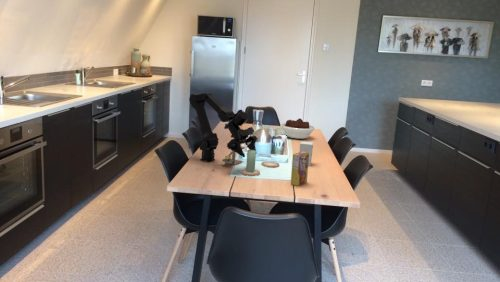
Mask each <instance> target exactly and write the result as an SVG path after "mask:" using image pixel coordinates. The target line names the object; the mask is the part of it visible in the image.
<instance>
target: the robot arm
mask: <svg viewBox="0 0 500 282" xmlns="http://www.w3.org/2000/svg"><path fill="white" fill-rule="evenodd" d="M188 101H189V103H190V105H191V107H192V108H193V109H194V110H195V111H196V112H195V113H196V115H197V118H198V121H199V124H200V127H201V130H202V138H201V140H202V142H201V144H200V145H199V146H198V147H199V148H198V149H199V150H200V151H201V158H200V159H199V160H200V161H203V162H207V163H208V162H209V163H210V162H213V161H215V160H216V158H215V156H216V155H215V150H217V147H218V145H219V138H218V134H217V133H216V132H213V130H212V128H211V125H210V122H209V119H208V115H207V112H206V109H205V106H206V103H207V104H208V105H209V106H210V107H211V108H212V109H213V111H215V112H216V113H217V117H218V119H220V121H221V122H222V123H224V129H225V130H228V131H229V133H230V134H231V135H230V138H232V139H230V140H229V142H227V143H226V147H227V149H228V150H230V151H232V150H233V151H234V152H235V154H238V155H239V156H241V157H242V158H245V157H246V155H245V152H244V151H243V150H244V149H242V148H241V146H242V145H243V144H245V145H246V148H247V149H248V150H255V151H256V155H257V154H258V153H257V149H256V142H257V140H258V137H257V136H256V135H254V132H255V130H254V128H253V127H252V126H250V127H247V128H245V129H243V128H241V126H243V125H244V124H245V123H246V122H247V121H248V120H249V114H248V113H246V112H245V111H244V110H243V109H238V110H237V112H236V113H234V111H233V110H231V109H229V108H228V107H225V106H224V105H223V104H222V103H221V102H220V101H219V100H217V98H216V97H214V96H213V94H212V93H210V92H204V93H192V94H191V95H190V96H189V100H188ZM227 122H228V123H227Z"/></svg>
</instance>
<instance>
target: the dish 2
mask: <svg viewBox="0 0 500 282" xmlns="http://www.w3.org/2000/svg"><path fill="white" fill-rule="evenodd" d="M262 165H263V167H265V166H267V168H278V167H280V163H278V162H277V161H276V162H275V161H268V160H267V161H261V166H262Z"/></svg>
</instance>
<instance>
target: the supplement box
mask: <svg viewBox="0 0 500 282" xmlns="http://www.w3.org/2000/svg"><path fill="white" fill-rule="evenodd" d="M313 148H314V142H313V141H311V142H310V141H302V140H301V141H300V142H299V152H307V153H309V161H308V167H311V165H312V159H313V158H312V157H313ZM299 152H298V153H299Z"/></svg>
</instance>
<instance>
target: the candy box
mask: <svg viewBox="0 0 500 282" xmlns="http://www.w3.org/2000/svg"><path fill="white" fill-rule="evenodd" d="M291 160H292V161H291V162H292V163H291V172H290V173H291V175H290V176H291V177H290V185H293V186H296V187H298V186H301V185H304V184H307V183H308V174H309V166H308V161H309V153H307V152H295V153H293V154H292V159H291Z"/></svg>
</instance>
